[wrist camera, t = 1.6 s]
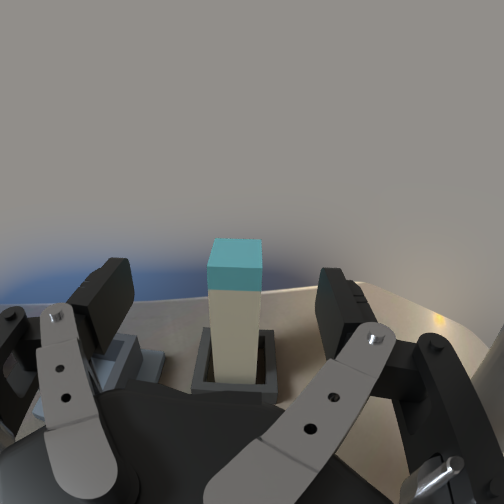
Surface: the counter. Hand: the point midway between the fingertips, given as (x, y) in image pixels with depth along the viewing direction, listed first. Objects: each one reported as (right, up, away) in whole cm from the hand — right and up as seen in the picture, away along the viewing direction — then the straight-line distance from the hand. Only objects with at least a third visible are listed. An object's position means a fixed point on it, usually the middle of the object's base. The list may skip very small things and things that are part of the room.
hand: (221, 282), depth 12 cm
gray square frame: (0, -11, +18) cm, 21 cm away
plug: (0, -11, +18) cm, 21 cm away
